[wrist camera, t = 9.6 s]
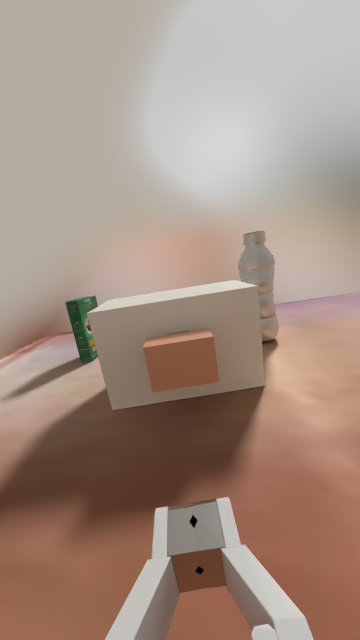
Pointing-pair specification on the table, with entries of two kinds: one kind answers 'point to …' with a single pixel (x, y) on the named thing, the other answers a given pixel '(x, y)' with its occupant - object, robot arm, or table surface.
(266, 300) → the plastic bottle
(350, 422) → the table surface
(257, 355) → the box
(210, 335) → the key
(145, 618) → the robot arm
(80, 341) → the coffee box
